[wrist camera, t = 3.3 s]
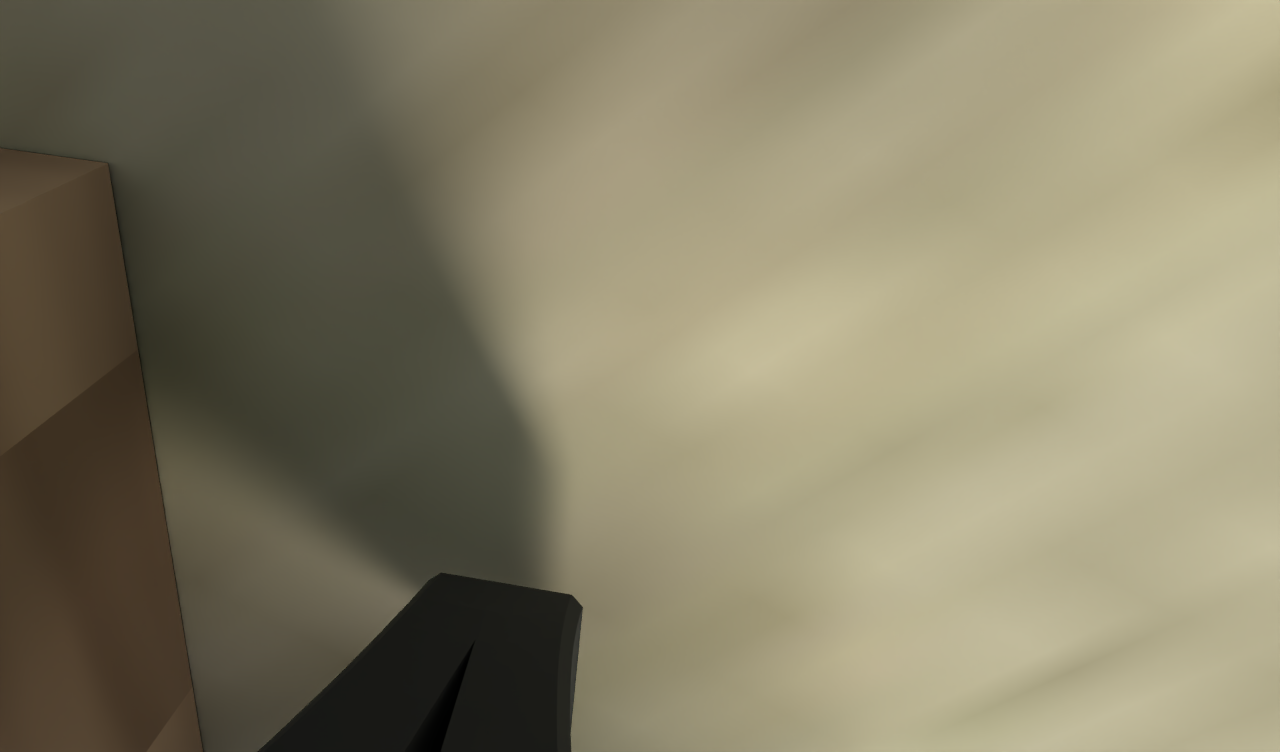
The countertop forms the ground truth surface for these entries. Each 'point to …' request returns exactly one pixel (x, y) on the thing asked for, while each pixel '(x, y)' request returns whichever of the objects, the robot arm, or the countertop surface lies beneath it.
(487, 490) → the countertop surface
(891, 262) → the countertop surface
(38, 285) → the block
